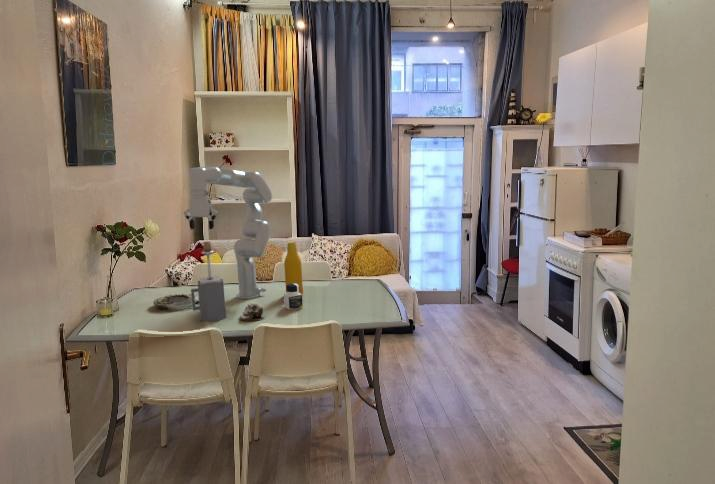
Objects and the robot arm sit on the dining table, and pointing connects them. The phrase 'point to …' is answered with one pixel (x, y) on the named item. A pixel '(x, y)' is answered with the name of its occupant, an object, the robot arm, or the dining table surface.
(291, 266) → the beer bottle
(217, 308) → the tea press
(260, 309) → the skull
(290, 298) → the medicine bottle
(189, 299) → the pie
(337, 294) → the dining table surface
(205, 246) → the plunger
